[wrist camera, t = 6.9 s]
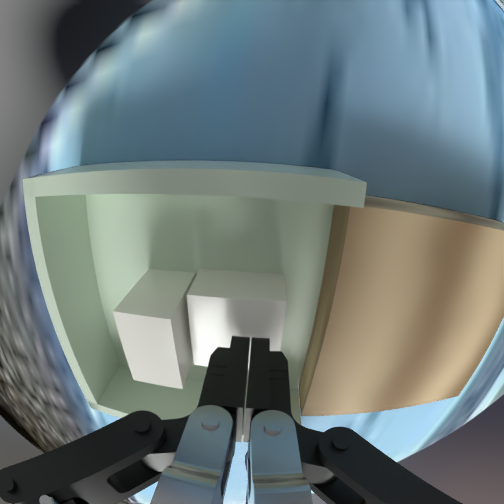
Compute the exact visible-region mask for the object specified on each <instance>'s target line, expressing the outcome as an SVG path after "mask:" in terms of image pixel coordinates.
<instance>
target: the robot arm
mask: <svg viewBox="0 0 504 504" xmlns="http://www.w3.org/2000/svg"><path fill="white" fill-rule="evenodd" d="M249 348H250V337H242V336H232V339H231V344H230V348H225V347H217V348H216V350H215V351H214V352H213V353H212V354H211V355H210V359H209V363H208V367H207V371H206V375H205V379H204V383H203V387H202V391H201V395H200V399H199V403H198V406H197V408H196V409H195V410H194V411H193V412H192V413H191V414H189V415H188V416H185V417H182V418H178V419H166V420H161V418H160V417H159V416H158V415H156V414H155V413H153V412H150V411H145V410H140V411H135V412H132V413H130V414H128V415H126V416H124V417H122V418H120V419H119V420H117V421H115V422H113V423H111V424H109V425H107V426H105V427H103V428H100V429H98V430H96V431H94V432H92V433H90V434H88V435H86V436H84V437H81V438H79V439H77V440H75V441H73V442H70V443H68V444H66V445H63V446H61V447H59V448H56V449H54V450H52V451H49V452H47V453H44V454H42V455H39V456H37V457H34V458H31V459H29V460H26V461H23V462H21V463H18V464H15V465H12V466H9V467H6V468H3V469H1V470H0V497H1V498H2V499H3V500H4V501H6V502H7V503H9V504H117V503H119V502H121V501H123V500H125V499H127V498H129V497H131V496H132V495H134V494H136V493H138V492H140V491H142V490H143V489H145V488H147V487H149V486H150V485H152V484H154V483H155V482H157V481H158V484H157V487H156V489H155V492H154V495H153V497H152V500H151V503H150V504H223V500H224V495H225V490H226V486H227V481H228V477H229V472H230V468H231V463H232V458H233V456H234V451H235V442H236V441H239V442H241V440H242V429H243V419H244V408H245V397H246V387H247V397H246V408H245V423H244V437H243V442H249V443H248V456H247V486H248V504H313V502H312V495H311V490H312V491H313V492H314V493H315V494H317V495H318V496H319V497H320V498H321V499H322V500H323V501H325V502H326V503H327V504H462V503H460V502H458V501H457V500H455V499H453V498H451V497H450V496H448V495H446V494H445V493H443V492H441V491H440V490H438V489H436V488H435V487H433V486H432V485H430V484H428V483H427V482H425V481H424V480H422V479H421V478H419V477H417V476H416V475H414V474H413V473H411V472H410V471H408V470H407V469H405V468H404V467H403V466H401V465H400V464H398V463H397V462H395V461H394V460H392V459H391V458H390V457H388V456H387V455H385V454H384V453H383V452H381V451H380V450H378V449H377V448H376V447H374V446H373V445H372V444H370V443H369V442H368V441H366V440H365V439H364V438H362V437H361V436H360V435H358V434H357V433H356V432H354V431H353V430H351V429H349V428H346V427H334V428H330V429H328V430H327V431H325V432H320V431H316V430H312V429H308V428H305V427H303V426H302V425H300V424H299V423H298V422H296V420H295V419H294V418H293V416H292V413H291V400H290V384H289V373H288V371H289V369H288V360H287V358H286V357H285V355H284V354H283V352H282V351H270V338H257V337H252V340H251V351H250V363H249ZM248 363H249V374H248ZM247 376H248V386H247Z"/></svg>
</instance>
